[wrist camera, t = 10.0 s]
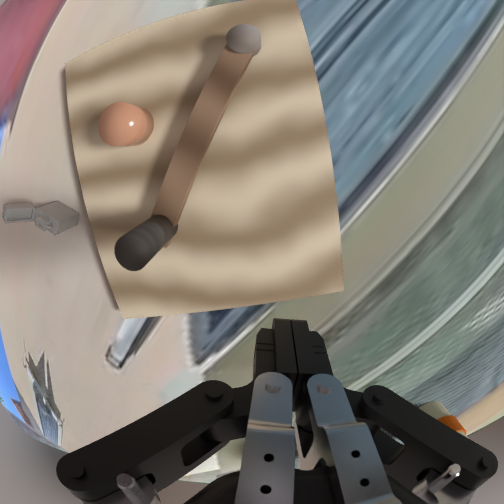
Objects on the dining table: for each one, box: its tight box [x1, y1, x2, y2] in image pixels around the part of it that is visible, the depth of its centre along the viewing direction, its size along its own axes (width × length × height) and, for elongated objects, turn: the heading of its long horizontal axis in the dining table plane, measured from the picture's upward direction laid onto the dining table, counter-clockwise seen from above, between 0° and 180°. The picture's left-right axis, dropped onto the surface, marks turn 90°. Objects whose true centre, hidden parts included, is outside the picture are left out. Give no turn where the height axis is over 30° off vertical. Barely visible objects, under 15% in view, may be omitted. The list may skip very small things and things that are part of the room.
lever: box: [114, 24, 261, 271], centre depth 20 cm, size 22×3×8 cm, turn 156°
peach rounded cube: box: [98, 102, 154, 146], centre depth 22 cm, size 4×4×4 cm
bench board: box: [65, 0, 344, 319], centre depth 26 cm, size 32×26×2 cm
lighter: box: [2, 201, 80, 235], centre depth 25 cm, size 7×2×8 cm, turn 63°
